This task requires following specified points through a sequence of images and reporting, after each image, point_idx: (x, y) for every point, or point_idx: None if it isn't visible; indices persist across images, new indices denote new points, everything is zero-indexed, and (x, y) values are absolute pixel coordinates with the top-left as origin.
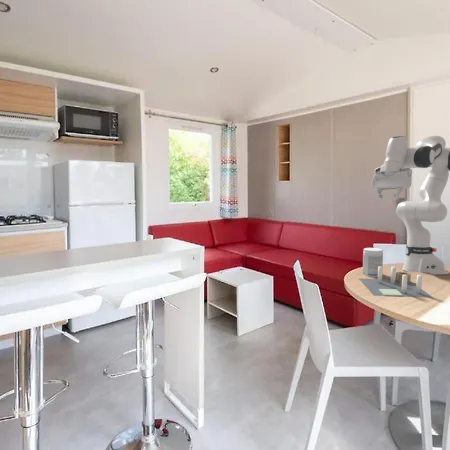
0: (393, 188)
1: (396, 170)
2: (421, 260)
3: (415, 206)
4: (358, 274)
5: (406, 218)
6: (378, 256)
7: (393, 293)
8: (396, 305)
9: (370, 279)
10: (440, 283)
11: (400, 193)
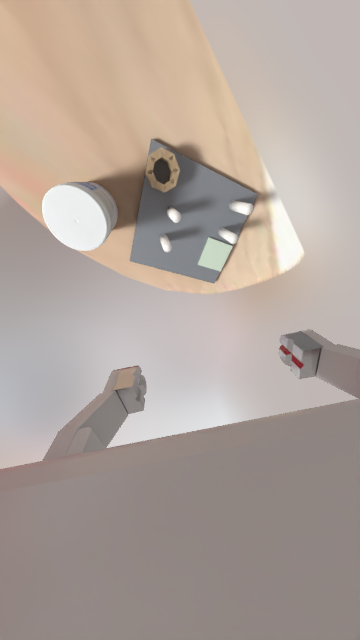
0: (283, 429)
1: None
2: None
3: None
4: None
5: None
6: (110, 218)
7: (222, 255)
8: (243, 268)
9: (138, 241)
10: (174, 7)
11: (353, 349)
